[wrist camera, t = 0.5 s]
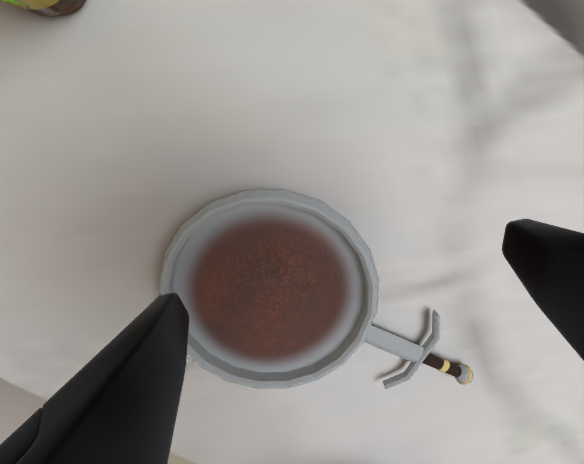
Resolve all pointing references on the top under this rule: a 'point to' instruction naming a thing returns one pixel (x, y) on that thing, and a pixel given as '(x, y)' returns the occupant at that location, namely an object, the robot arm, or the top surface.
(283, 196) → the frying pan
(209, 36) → the top surface
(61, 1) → the sauce bottle
